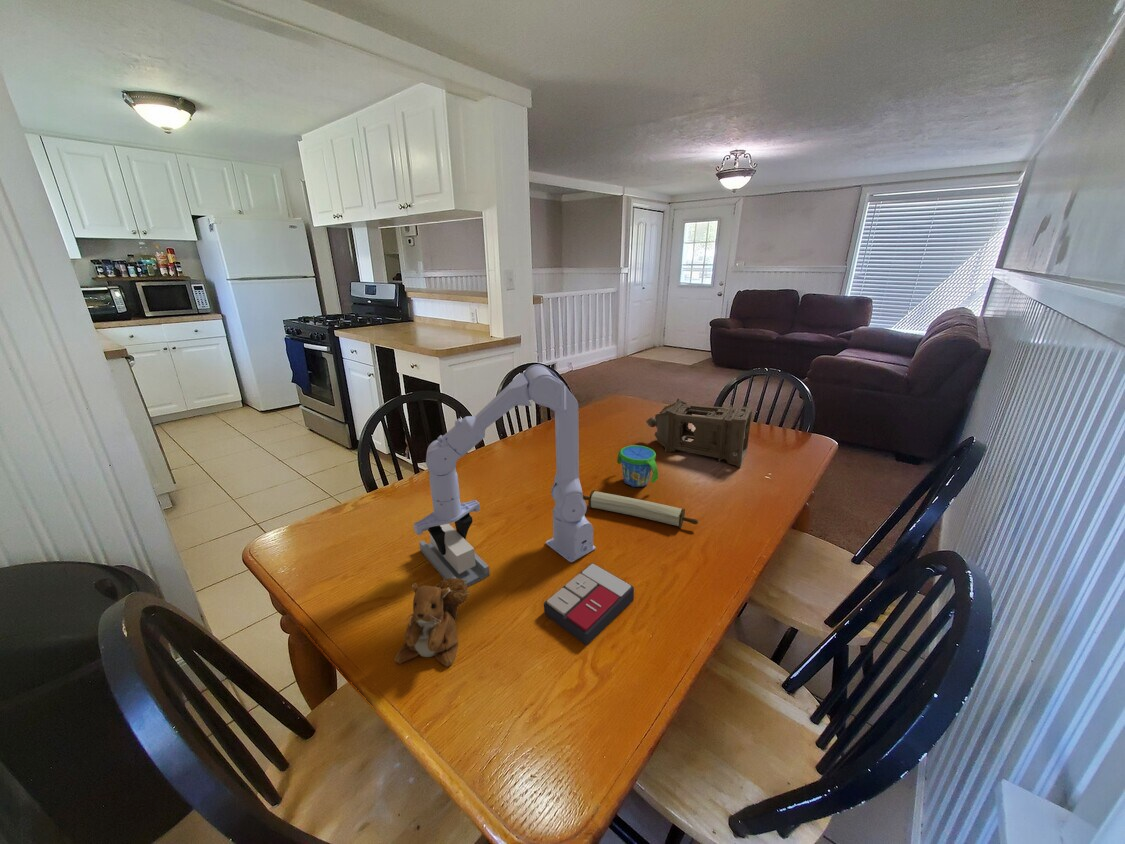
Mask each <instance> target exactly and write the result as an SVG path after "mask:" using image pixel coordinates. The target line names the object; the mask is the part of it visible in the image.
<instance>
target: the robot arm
mask: <svg viewBox="0 0 1125 844" xmlns="http://www.w3.org/2000/svg"><path fill="white" fill-rule="evenodd" d="M531 400H532V402H534V404H536V405H539V406H542V407H546V408H549V409H551V410H552V411H553V412H554V423H555V424H554V427H555V428H554V429H555V431H554V432H555V458H556V460H555V461H556V462H555V464H556V467H555V468H556V474H555V475H554V483H553V485H552V487H551V490H550V494H551V498H552V499H553V500H554V503H555V505H554V507H553V508H552V530H553V531H552V532H553V533H552V538H550V539H547V540H546V541H545V544H546V545H547V546H548V547H550V549H552V550H553V551H555V552H556V553H558V554H559V555H560V556H562V558H564V559H565V560H566V561H568V562H569V563H573V562H576V561H577V560H578V559H580V558H582V557H583V556H585V555H587V554H589V553H590V552H593V551H594V550H596V549H597V547H596V546H595V545H594V526H593V524H592V523H591V522H590V521H589V520H588V519H587V518H586V516H585V514H586V513H587V510H588V509H587V508H588V505H587V503H586V500H583V496H582V495H583V489H582V484H581V482H580V469H579V468H580V463H579V458H580V456H579V455H580V453H579V452H580V451H579V449H580V447H579V442H580V441H579V440H580V439H579V438H580V437H579V402H578V401H577V398H576V397H575V396H574V395H573V394H572V392H571V391H570V390H569V388H568V387H567V386H566V383H564V382H563V381H562V380H561V378H559V376H558V375H557V374H556V372H554V371H553V370H552V369H550V368H549V367H546V366H545V365H542V364H538V363H537V364H533V365H532V364H531V365H530V366H528V367H527V368H526V369H525V370H524V372H521V373H519V374H517V375H516V376H515V377H514V379H512V381H511V382H509V384H507V386H505V387H504V388H503V389H502V390H501V391H500V392H499V393H497V395H495V397H494V398H493V399H492V400H491V401H490V402H489V403H487V405H485V406H484V407H483V408H482V409H481V410H480V411H479V412H478V413H477V414H476V415H474V416H473V415H469V416H468V415H467V416H465V417H463V418H462V419H461V418H460V417H459V418H457V419H456V420H455V421H454V426H453V427H452V428H451V429H449V430H448V431H447V432H446V433H445V434H443V435H442V434H440V435H439V436H438V437H437V439H435V440H433V441H432V442H431V443H429V444H428V447H427V450H426V455H425V456H426V458H425V464H426V469H428V475H429V478H428V479H429V480H428V481H429V485H430V486H429V487H430V492H431V493H430V495H431V501H432V509H433V512H431V513H429V514H428V515H427V516H425V517H423V518H422V519H420V520H418V521H415V522H414V523H413V529H414V533H415V534H417V536H421V535H423V534H424V532H426V531H428V532H429V535H430V534H431V535H432V537H433V539H434V540H435V542H436V544H437V547H438V550H439V552H440V553H441V554H442V555H445V554H446V549H445V532H444V531H443V530H442V527H441V526H440V525H444V524H450V525H451V524H453V523H454V526H455V530H456V531H457V532H458V533H459V534H460V535H461V536H462V537H463V538H464V539H465V540H466V541H467V535H468V532H469V529H470V527H471V526H472V523H473V517H472V516H471V515H470V514H471V513H472V512H476V513H477V512H480V511H481V505H480V502H479V501H477V499H473V500H471V501H467V502H461V495H460V485H459V477H458V476H459V475H458V473H457V470H456V469H457V468H456V467H457V462H458V459H461V458H463V457H464V456H465V455H466V454H467V453H469V452H470V451H471V450H472V449H473V448H474V447H475V446H477V445H478V444H479V443H480V442H481V441H482V440H483V439H485V437H486V429H487V428H488V427H491V425H493V424H494V423H495V422H496V421H497V420H499V419H500V418H502V417H503V416H504V415H506V414H507V413H508V412H509V411H511V409H513V408H514V407H516V406H524V407H526V406H527V407H530V406H532V403H531Z"/></svg>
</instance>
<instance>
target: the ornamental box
mask: <svg viewBox="0 0 1125 844" xmlns="http://www.w3.org/2000/svg"><path fill="white" fill-rule="evenodd" d="M752 415H753V406H738V408H733V406H732V404H731V405H730V406H729V407H725V406H724V407H721V406H709V405H708V406H707V405H698V404H697V405H696V404H688V402H687V401H683V400H682V398H677V399H676V401H675V402H674V403H672V404H669V405H668V404H667V405H665V406H664V407H663V408H662V409H661V411H660V412H659V413H657V414H655V415H654V416H650V418H648V419H647V420H646V422H645V423H646V424H647V425H648V427H650V428H654V427H656V431H655V433H654V438H656V440H657V442H658V443H659V444H660V446H664V452H665V453H667V452H668V453H670V452H675V451H676V450H677V451H682V452H688V453H691V454H696V455H697V454H698V455H700V456H705V457H710V458H715V459H718V462H721V460H725V461H726V463H727V464H729V465H733V466H736V467H737V468H740V469H741V468H742V464H743V462H744V459H745V457H746V454H747V452H748V446H749V436H750V430H751V421H752ZM689 424H692V426H693V428H694V430H692V428H689ZM689 439H690V440H691V441H688V440H689Z"/></svg>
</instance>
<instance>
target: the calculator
mask: <svg viewBox="0 0 1125 844" xmlns="http://www.w3.org/2000/svg"><path fill="white" fill-rule="evenodd" d="M634 598H635V587H634V586H633V585H632V584H630V583H629V582H626V581H625V580H623V579H621V578H620V577H619V576H616V575H614V574H613V573H611V572H610V571H608V570H606V569H604V568H602V567H600V566H599V565H597V564H596V563H593V562H592V563H590V564H589V565H587V566H586V567H585V568H584V569H583V570H581V571H580V572H579V573H578V574H576V575H575V576H574V577H573V578H572V579H571V580H569V581H568V582H567V583H566V584H565V585H564V586H562V587H561V588H560V589H559V590H558V591H556V592H555V593H554V594H552V596H550V597H549V598H548V599H546V600H545V602H543V614H544V616H547V618H549V619H550V620H551V621H553V622H555V623H556V624H557V625H558V626H560V627H561V628H562V629H563V630H565V631H566V632H568V633H569V634H570V635H572V637H574V638H576V639H577V640H578V641H580V642H581V643H582V644H584V645H589V644H591V642H592V641H594V639H595V638H596V637H597V636H599V634H600V633H601V632H603V631H604V630H605V629H606V628H607V626H609V625H610V624H611V622H613V620H614V619H616V617H618V616H619V614H621V612H624V610H625V609H626V608H627V607H629V606H630V605H631V604H632V602H634Z"/></svg>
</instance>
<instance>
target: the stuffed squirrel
mask: <svg viewBox="0 0 1125 844" xmlns="http://www.w3.org/2000/svg"><path fill="white" fill-rule="evenodd" d="M465 582H467V581H466V580H465V581H464V579H463V580H461V579H459V578H449V579H446V580H445V579H444V578H443V580H440V582H438V583H436V585H435V586H432V585H425V584H424V585H421V586H419V585H418V583H417V582H414V583H413V584H412V585H411V586H412V589H413V592H414V596H413V602H412V614H410V615H408V616H407V618H406V620H405V622H407V621H408V620H409V618H410V617H411V618H410V621H409V623H408V625H407V626H406V630H405V632H404V633H405V634H404V639H405V643H404V644H403V645H402V646H401V647H400V648H399V650H398V651H397V653H396V654H395V657H394V662H395V663H397V664H399V665H400V664H403V663H406V662H408V661H409V660H412V659H413V658H416V657H418V656H419V655H420V657H423V658H424V657H425V658H432V657H433V656H434V657H435V659H437V661H438V662H440V663H441V664H442V665H443V666H445V667H446V668H448V667H451V666H452V665H453V663H454V661H455V659H456V656H457V653H458V648H459V639H458V633H457V632H458V631H457V626H456V625H457V624H456V621H457V620H458V618H457V616H458V611H459V610H458V607H459V606H460V605H462V604H463V603H464V602H466V601H467V598H468V596H470V595H471V594H469V593H470V590H469V589H468V587H467V585H466V584H465Z"/></svg>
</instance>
